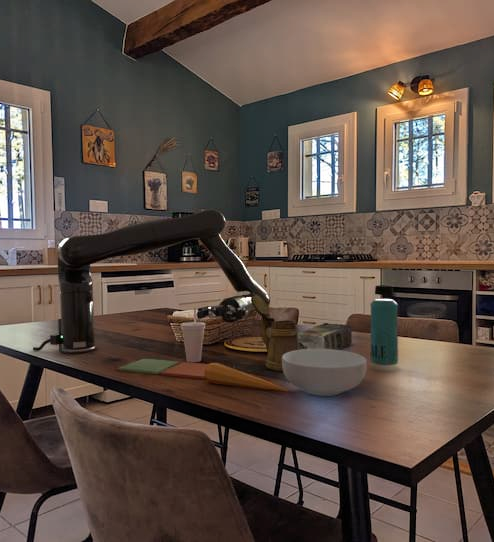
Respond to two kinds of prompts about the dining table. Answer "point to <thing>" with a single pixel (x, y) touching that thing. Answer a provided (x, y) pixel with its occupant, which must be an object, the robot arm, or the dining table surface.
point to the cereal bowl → (324, 370)
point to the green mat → (149, 366)
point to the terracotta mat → (187, 370)
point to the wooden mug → (275, 334)
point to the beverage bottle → (384, 328)
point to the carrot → (236, 378)
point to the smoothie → (193, 339)
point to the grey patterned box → (326, 337)
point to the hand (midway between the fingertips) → (212, 315)
